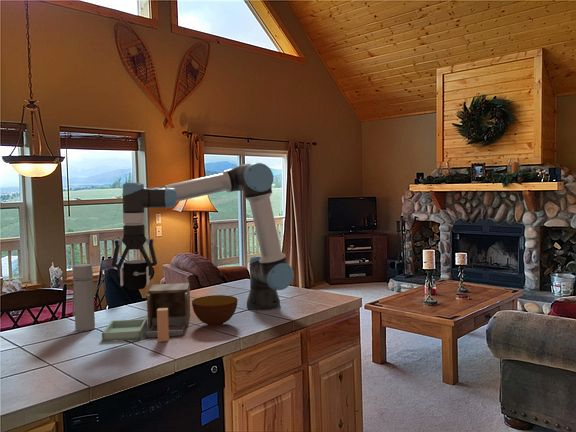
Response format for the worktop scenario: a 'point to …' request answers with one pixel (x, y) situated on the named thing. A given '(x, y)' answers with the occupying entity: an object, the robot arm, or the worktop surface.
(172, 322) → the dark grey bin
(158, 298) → the bay
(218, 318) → the bowl
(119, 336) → the tray
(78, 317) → the water bottle
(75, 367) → the worktop surface
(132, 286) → the mug
